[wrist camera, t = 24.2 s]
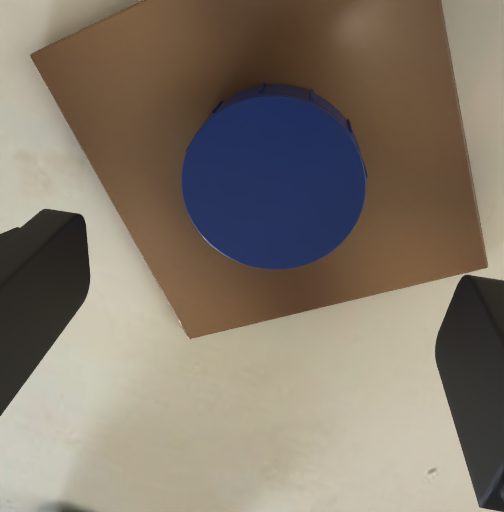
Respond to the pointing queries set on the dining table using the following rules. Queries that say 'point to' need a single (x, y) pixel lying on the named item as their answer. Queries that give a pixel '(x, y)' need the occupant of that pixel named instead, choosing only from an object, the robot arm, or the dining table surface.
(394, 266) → the cork coaster
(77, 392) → the dining table surface
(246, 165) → the jar lid
